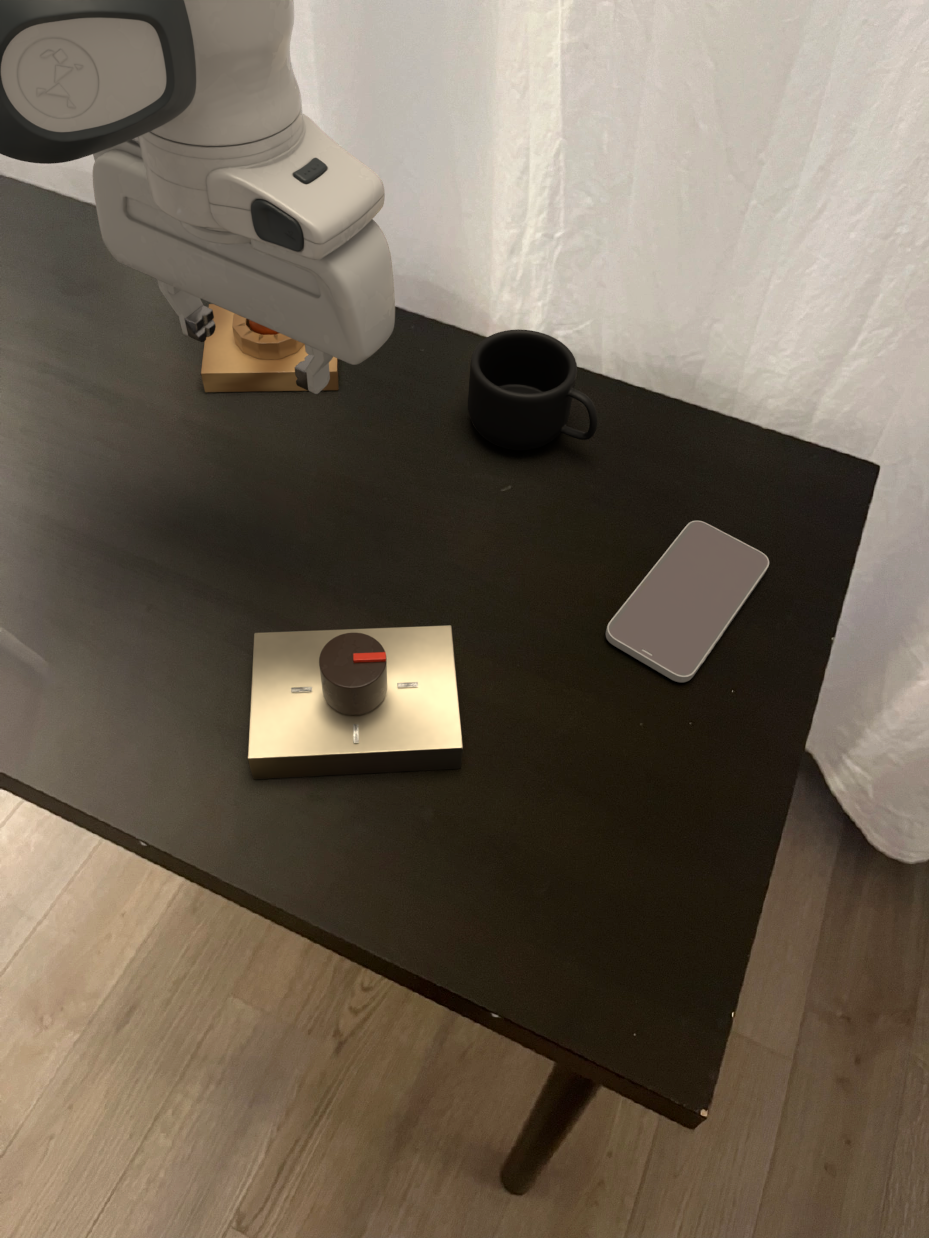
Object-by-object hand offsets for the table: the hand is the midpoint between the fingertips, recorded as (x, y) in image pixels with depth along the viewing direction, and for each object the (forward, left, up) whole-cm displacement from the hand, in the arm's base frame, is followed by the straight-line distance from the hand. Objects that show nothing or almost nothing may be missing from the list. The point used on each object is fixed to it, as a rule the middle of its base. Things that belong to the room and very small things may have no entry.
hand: (255, 359), depth 64 cm
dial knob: (+6, -18, -14) cm, 23 cm away
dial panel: (+6, -18, -17) cm, 25 cm away
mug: (+22, +10, -17) cm, 29 cm away
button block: (-1, +21, -17) cm, 27 cm away
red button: (-1, +21, -13) cm, 25 cm away
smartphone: (+32, -9, -17) cm, 37 cm away
